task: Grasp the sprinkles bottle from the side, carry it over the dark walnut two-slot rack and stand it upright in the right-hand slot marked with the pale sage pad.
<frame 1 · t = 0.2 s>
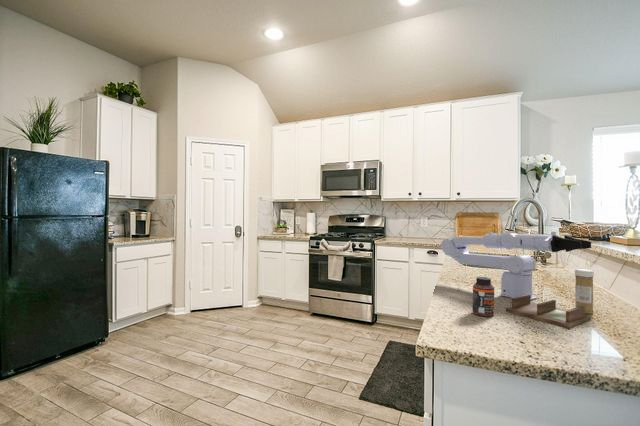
hand: (586, 245, 99), 21 cm above the worktop, tool horizontal, fingers open, 7 cm apart
supplement bottle: (483, 314, 96), on the worktop
sprinkles bottle: (583, 312, 99), on the worktop
slot rack: (546, 315, 96), on the worktop
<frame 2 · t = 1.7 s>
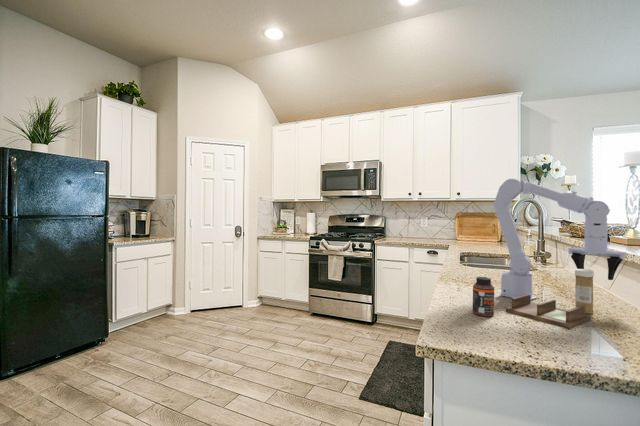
hand: (595, 277, 103), 10 cm above the worktop, tool pointing down, fingers open, 7 cm apart
nothing on the worktop moved.
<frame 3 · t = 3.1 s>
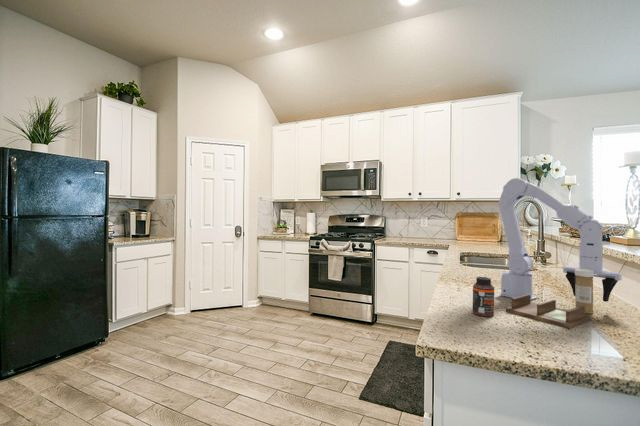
hand: (590, 298, 101), 4 cm above the worktop, tool pointing down, fingers open, 7 cm apart
nothing on the worktop moved.
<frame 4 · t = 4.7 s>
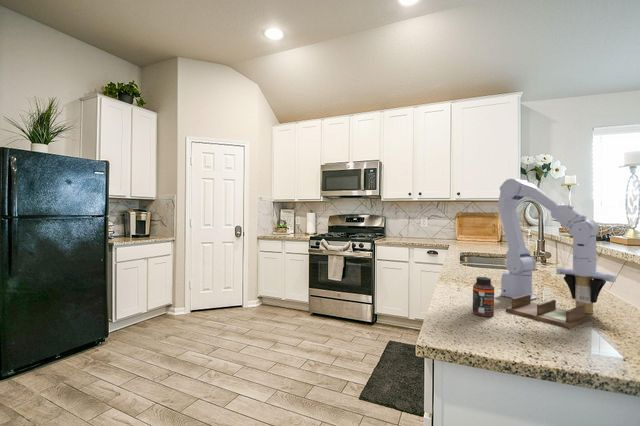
hand: (584, 300, 99), 4 cm above the worktop, tool pointing down, fingers closed on sprinkles bottle, 4 cm apart
sprinkles bottle: (583, 312, 99), on the worktop, touching gripper
everything else where it was.
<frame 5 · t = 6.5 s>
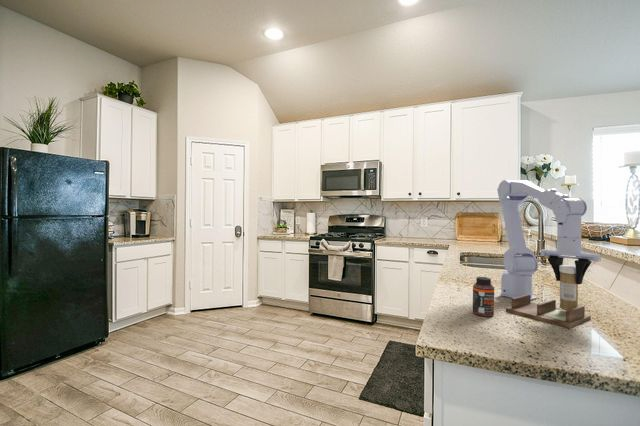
hand: (568, 282, 94), 10 cm above the worktop, tool pointing down, fingers closed on sprinkles bottle, 4 cm apart
sprinkles bottle: (568, 309, 95), point 2 cm above the worktop, touching gripper
everything else where it was.
when the fingers open (6 cm above the worktop, at t = 8.1 s): sprinkles bottle stays where it is, resting on slot rack.
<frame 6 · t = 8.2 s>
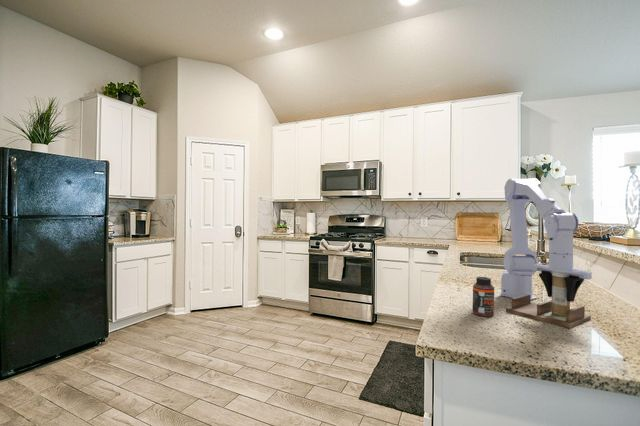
hand: (560, 298, 92), 6 cm above the worktop, tool pointing down, fingers open, 5 cm apart
sprinkles bottle: (560, 314, 93), point 1 cm above the worktop, touching gripper, slot rack
everything else where it was.
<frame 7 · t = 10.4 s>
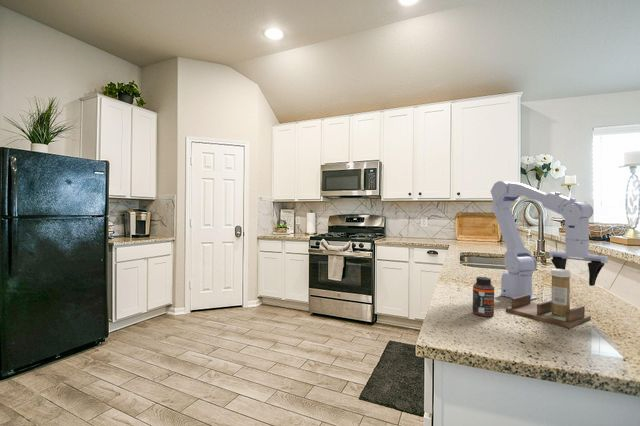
hand: (576, 282, 98), 9 cm above the worktop, tool pointing down, fingers open, 7 cm apart
sprinkles bottle: (560, 315, 93), point 1 cm above the worktop, touching slot rack
everything else where it was.
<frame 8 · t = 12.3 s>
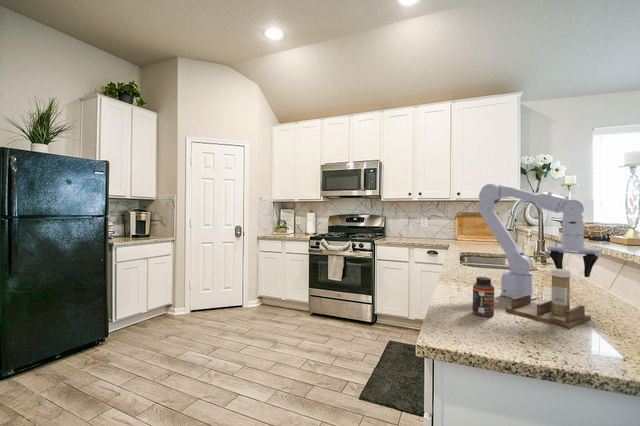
hand: (573, 274, 105), 10 cm above the worktop, tool pointing down, fingers open, 7 cm apart
nothing on the worktop moved.
at the end: sprinkles bottle inside the target area on the slot rack (0.7 cm from its centre), point 0.9 cm above the slot rack's base; sprinkles bottle tilted 0°; the gripper is holding nothing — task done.
